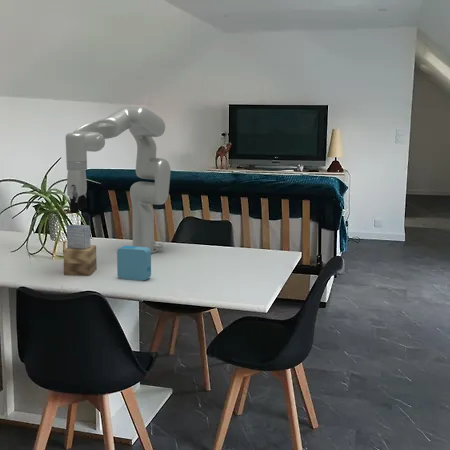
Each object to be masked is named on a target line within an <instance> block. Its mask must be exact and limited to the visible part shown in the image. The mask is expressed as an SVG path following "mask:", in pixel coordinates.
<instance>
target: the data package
mask: <svg viewBox="0 0 450 450" xmlns="http://www.w3.org/2000/svg"><path fill="white" fill-rule="evenodd" d="M116 268H117V271H116V272H117V273H116V274H117V275H116V276H117V277H118V278H119V279H120V278H124V279H123V280H129V279H134V280H133V281H139V280H145V281H147V279H148V280H149V278H151V276H152V253H151V250H150V249H149V248H148V247H137V246H133V245H123V246H121V247H119V248H117V251H116Z"/></svg>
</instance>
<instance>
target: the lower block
mask: <svg viewBox="0 0 450 450" xmlns="http://www.w3.org/2000/svg"><path fill="white" fill-rule="evenodd" d="M97 264H98V263H97V258H96V259H94V260H93V261H92V262H91V263H90V264H78V263H64V262H63V275H64V276H74V277H75V276H78V277H79V276H82V277H90V276H91V275H93V273H95V272H96V271H97V269H98V267H97V266H98V265H97Z"/></svg>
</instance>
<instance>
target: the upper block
mask: <svg viewBox="0 0 450 450" xmlns="http://www.w3.org/2000/svg"><path fill="white" fill-rule="evenodd" d="M94 259H96V260H97V245H95V244H94V245H93V244H91V247H89V248H87V249H76V248H67V247H66V248H64V249H63V264H64V263H78V264H90V263H91V262H92V261H93V260H94Z"/></svg>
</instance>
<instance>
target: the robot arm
mask: <svg viewBox="0 0 450 450" xmlns="http://www.w3.org/2000/svg"><path fill="white" fill-rule="evenodd" d="M127 130H128V131H129V132H130V133H131V135H132V136H133V138H134V140H135V142H136V146H137V149H136V159H135V161H136V162H135V174H136V177H138V178H140V179H145V180H153V181H154V182H151V181H137V182H134V183H133V184H132V185H131V186H130V189H129V195H130V201H131V206H132V207H131V209H132V210H131V211H132V246H137V247H148V248H149V249H150V250H151V254H155V253H157V252H158V249H164V244H163V243H157V241H156V240H155V213H154V209H153V207H152V205H164V204H165V203H166V202H167V200H168V198H169V192H170V184H171V182H170V181H171V165H170V163H169V161H168V160H167V159H165V158H161V157H157V149H158V148H157V145H156V142H155V141H156V140H154V138H159V137H161V136H163V134H164V133H165V131H166V124H165V121H164V119H163V118H162V117H161V116H159V115H158V114H156V113H155V112H153V111H152V110H150V109H148V108H146V107H145V106H144V107H143V106H123V107H121V108H119V109H118V110H116V111H114V112H113V113H111V114H110V115H107V117H105V118H102V119H98V120H96V121H92V122H89V123H87V124H84V125H82V126H80V127H78V128H76V129H75V130H74V131H73V132H70V133H69V132H68V133H66V134H65V160H66V171H67V176H66V195H67V197H68V198H69V212H70V213H71V214H73V213H74V214H79V213H80V209H87V208H88V203H87V189H88V185H87V184H88V183H87V174H86V171H87V170H88V157H87V156H88V153H87V152H99V151H101V150H102V149H103V148H105V145H106V140H108V139H112V138H116V137H118V136H120V135H121V134H122V133H124V132H125V131H127Z"/></svg>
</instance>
